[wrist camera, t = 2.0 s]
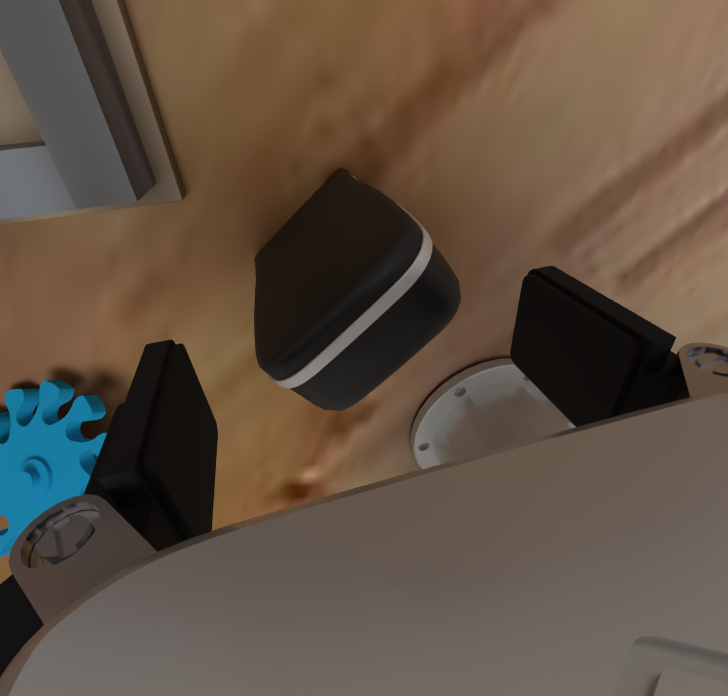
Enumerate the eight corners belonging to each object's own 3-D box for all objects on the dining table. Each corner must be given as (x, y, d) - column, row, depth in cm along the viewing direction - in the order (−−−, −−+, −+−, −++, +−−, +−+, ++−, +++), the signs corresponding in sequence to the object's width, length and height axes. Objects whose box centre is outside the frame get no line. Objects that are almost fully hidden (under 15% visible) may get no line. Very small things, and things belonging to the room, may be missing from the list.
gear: (73, 348, 19) (132, 549, 18) (160, 355, 25) (211, 506, 23) (-82, 432, 21) (-41, 619, 20) (32, 420, 27) (72, 564, 25)
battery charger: (301, 303, 23) (337, 447, 13) (248, 259, 21) (248, 393, 11) (390, 216, 21) (500, 310, 12) (343, 160, 19) (431, 219, 10)
